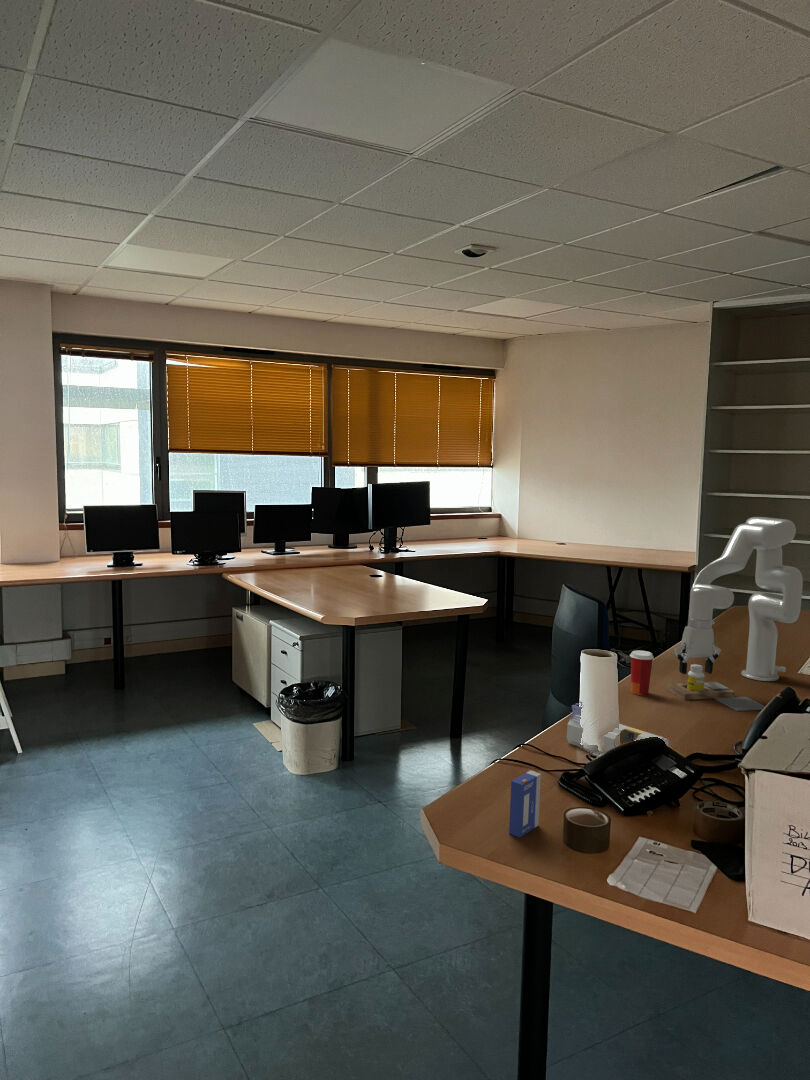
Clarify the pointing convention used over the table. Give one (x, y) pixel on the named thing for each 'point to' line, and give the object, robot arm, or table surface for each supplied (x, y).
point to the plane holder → (709, 691)
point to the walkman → (524, 803)
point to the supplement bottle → (696, 678)
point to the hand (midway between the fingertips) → (695, 673)
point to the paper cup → (640, 672)
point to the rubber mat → (740, 703)
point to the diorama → (609, 739)
